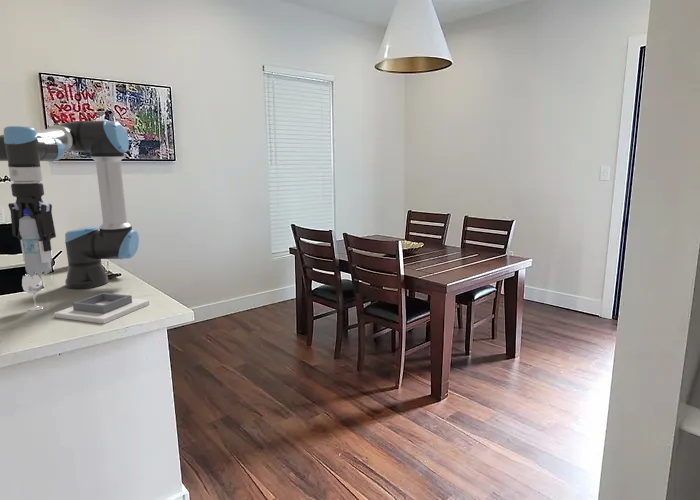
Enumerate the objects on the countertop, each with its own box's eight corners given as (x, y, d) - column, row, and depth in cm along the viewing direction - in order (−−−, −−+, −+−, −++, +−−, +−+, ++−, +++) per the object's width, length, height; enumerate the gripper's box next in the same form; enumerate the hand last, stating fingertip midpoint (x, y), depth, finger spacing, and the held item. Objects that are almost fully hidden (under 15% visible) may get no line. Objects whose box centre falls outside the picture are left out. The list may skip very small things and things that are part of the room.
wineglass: (28, 307, 157) (23, 273, 155) (47, 305, 159) (43, 272, 157) (23, 312, 152) (18, 277, 150) (44, 310, 154) (39, 275, 152)
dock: (103, 299, 166) (102, 288, 165) (149, 304, 160) (148, 293, 160) (54, 317, 147) (53, 305, 146) (104, 323, 141) (103, 311, 141)
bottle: (39, 277, 131) (29, 208, 127) (19, 276, 132) (9, 207, 128) (58, 271, 137) (49, 206, 133) (39, 270, 138) (30, 205, 135)
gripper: (-12, 182, 128) (0, 261, 133) (40, 183, 123) (51, 266, 128) (14, 181, 135) (25, 256, 140) (64, 182, 130) (74, 260, 135)
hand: (37, 261), depth 134 cm, fingers closed on bottle, 6 cm apart
